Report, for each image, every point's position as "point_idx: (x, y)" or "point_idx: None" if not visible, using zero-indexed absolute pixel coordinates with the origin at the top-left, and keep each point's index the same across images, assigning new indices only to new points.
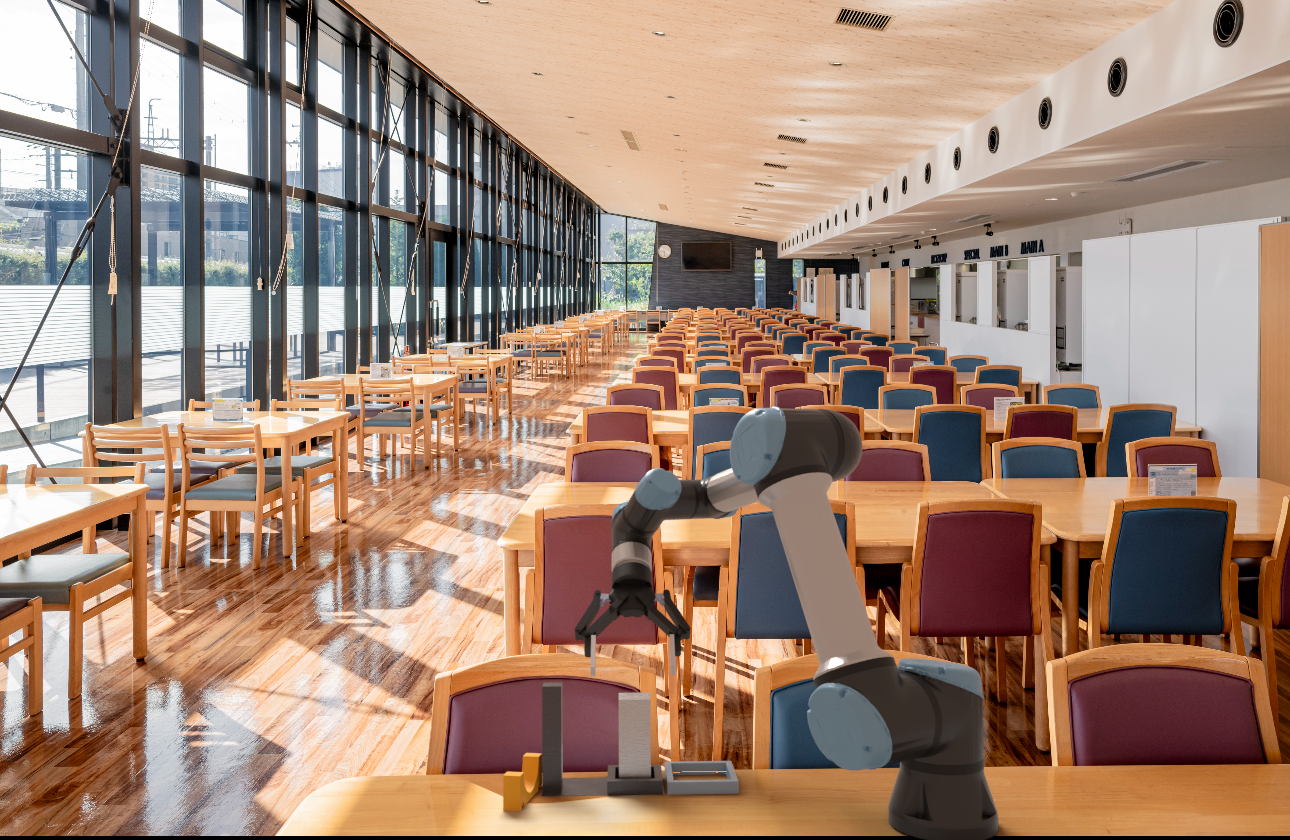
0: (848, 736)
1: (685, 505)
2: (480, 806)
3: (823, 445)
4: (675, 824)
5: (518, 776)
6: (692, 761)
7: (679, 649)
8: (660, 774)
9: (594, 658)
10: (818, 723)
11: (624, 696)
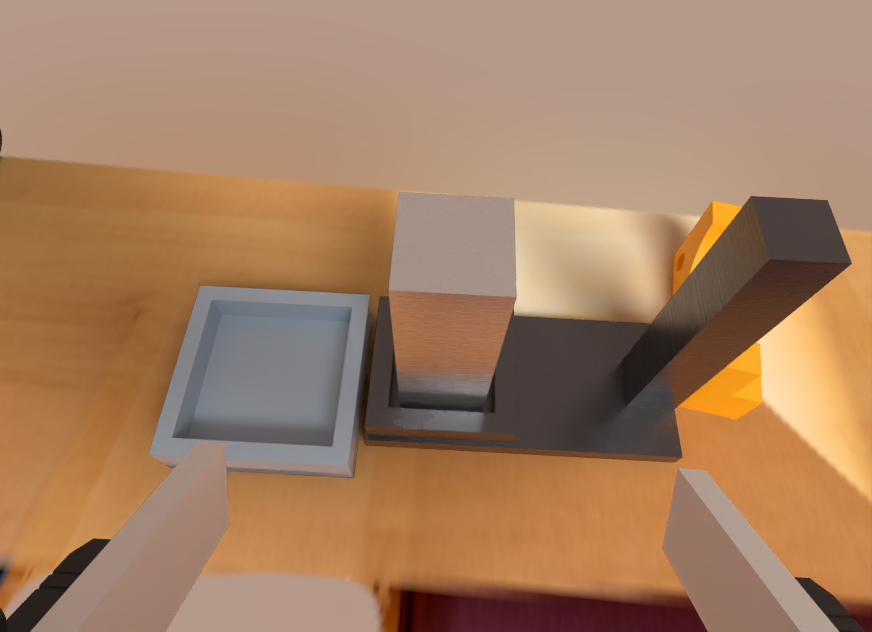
0: None
1: None
2: (782, 332)
3: None
4: (377, 208)
5: (716, 202)
6: (264, 459)
7: (85, 553)
8: (378, 341)
9: (710, 507)
10: None
11: (492, 241)
